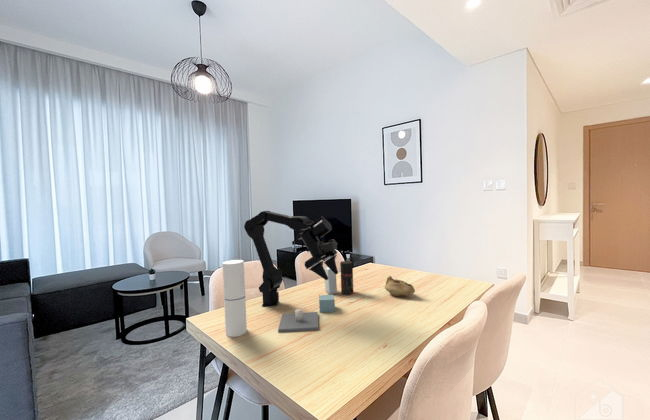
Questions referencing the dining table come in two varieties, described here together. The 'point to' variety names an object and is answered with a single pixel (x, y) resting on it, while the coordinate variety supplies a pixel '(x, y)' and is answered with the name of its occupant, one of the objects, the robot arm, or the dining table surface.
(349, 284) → the deodorant
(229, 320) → the cylindrical container
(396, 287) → the brown lumpy piece
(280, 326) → the post stand
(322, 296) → the pale blue cube
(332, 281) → the skincare box
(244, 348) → the dining table surface
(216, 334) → the dining table surface
